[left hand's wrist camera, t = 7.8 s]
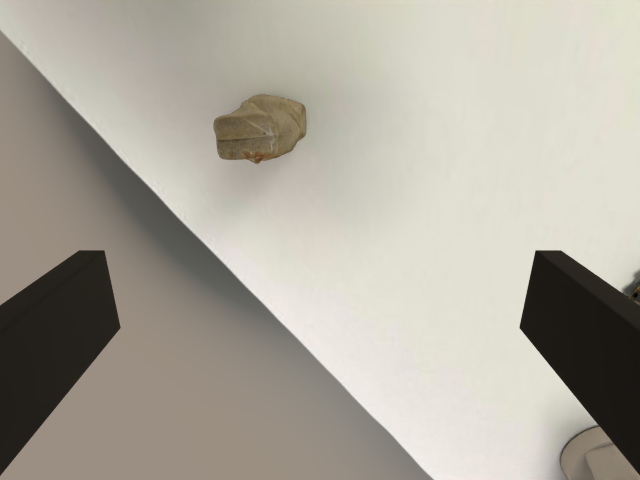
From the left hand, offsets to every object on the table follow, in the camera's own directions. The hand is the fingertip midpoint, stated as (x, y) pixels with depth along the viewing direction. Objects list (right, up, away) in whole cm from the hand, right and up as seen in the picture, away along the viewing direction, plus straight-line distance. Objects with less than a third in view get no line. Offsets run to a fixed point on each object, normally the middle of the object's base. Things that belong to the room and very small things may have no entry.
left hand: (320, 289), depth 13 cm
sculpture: (-5, +15, +33) cm, 37 cm away
